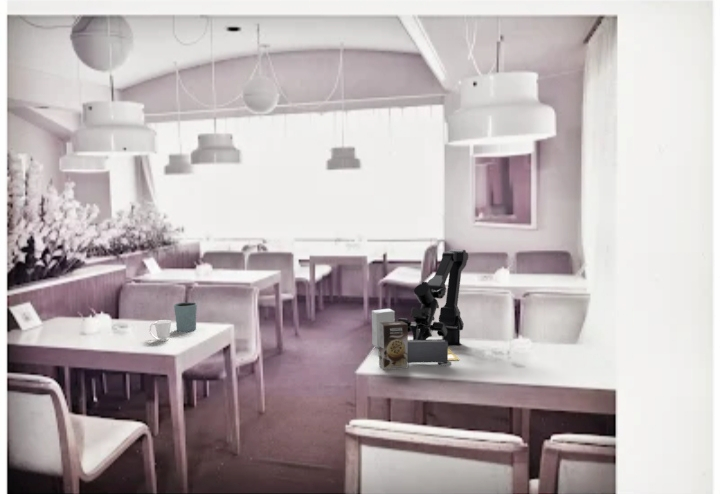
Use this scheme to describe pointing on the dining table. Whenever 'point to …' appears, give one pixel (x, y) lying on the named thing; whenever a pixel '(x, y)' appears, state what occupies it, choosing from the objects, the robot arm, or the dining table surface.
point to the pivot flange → (444, 363)
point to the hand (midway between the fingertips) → (415, 346)
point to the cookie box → (393, 345)
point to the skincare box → (378, 317)
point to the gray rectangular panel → (427, 351)
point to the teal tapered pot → (185, 316)
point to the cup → (162, 329)
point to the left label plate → (452, 357)
